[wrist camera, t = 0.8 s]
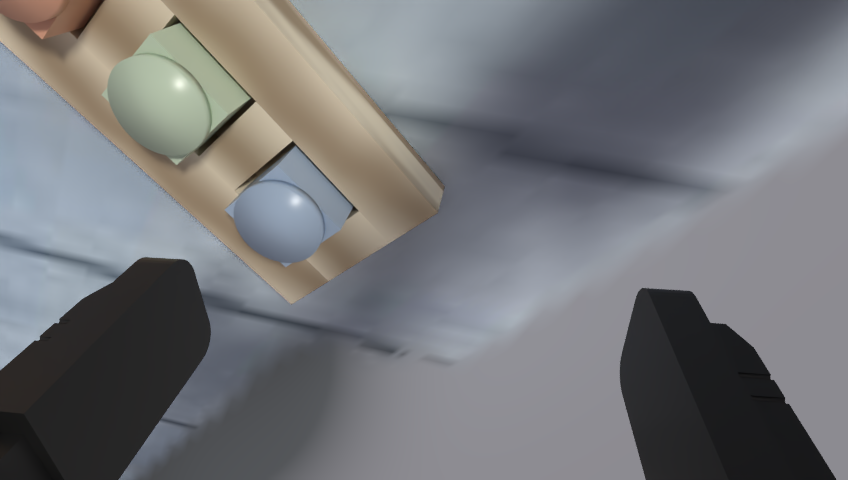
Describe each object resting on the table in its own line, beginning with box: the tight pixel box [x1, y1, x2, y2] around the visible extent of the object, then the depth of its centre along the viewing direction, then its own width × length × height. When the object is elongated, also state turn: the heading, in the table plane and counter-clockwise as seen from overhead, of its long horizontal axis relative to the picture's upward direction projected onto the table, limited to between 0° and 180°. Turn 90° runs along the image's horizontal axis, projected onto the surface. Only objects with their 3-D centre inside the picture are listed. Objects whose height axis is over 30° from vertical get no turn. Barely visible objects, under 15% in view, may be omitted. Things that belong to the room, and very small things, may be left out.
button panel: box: [0, 0, 445, 305], centre depth 26 cm, size 12×25×3 cm, turn 40°
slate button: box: [225, 145, 354, 267], centre depth 27 cm, size 5×5×3 cm
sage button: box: [102, 23, 252, 165], centre depth 24 cm, size 5×5×3 cm
